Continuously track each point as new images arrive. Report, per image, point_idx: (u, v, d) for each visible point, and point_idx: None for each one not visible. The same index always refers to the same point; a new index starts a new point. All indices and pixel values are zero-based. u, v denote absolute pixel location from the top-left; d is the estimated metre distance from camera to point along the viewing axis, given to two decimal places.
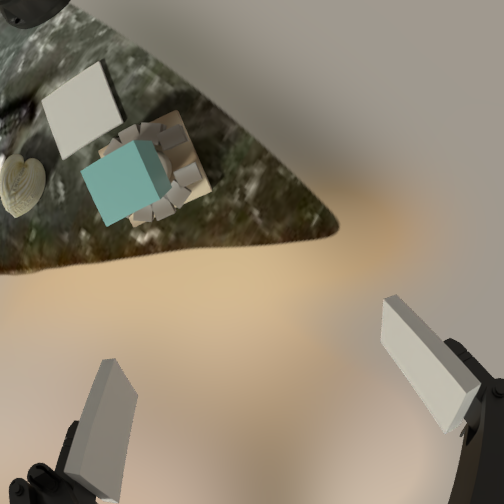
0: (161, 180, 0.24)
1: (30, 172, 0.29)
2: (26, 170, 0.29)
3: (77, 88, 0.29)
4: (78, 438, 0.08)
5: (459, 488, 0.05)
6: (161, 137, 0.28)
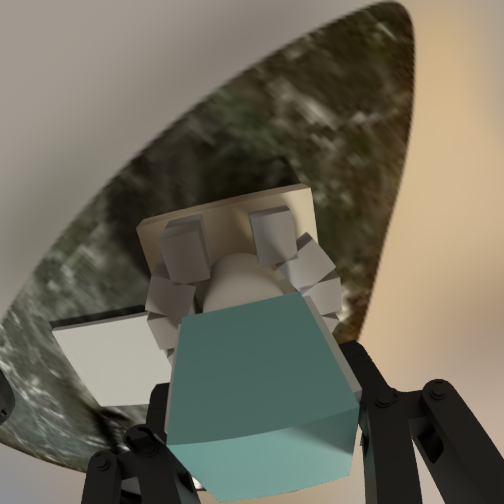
0: (288, 343, 0.10)
1: None
2: None
3: (88, 364, 0.22)
4: None
5: (369, 501, 0.06)
6: (181, 278, 0.15)
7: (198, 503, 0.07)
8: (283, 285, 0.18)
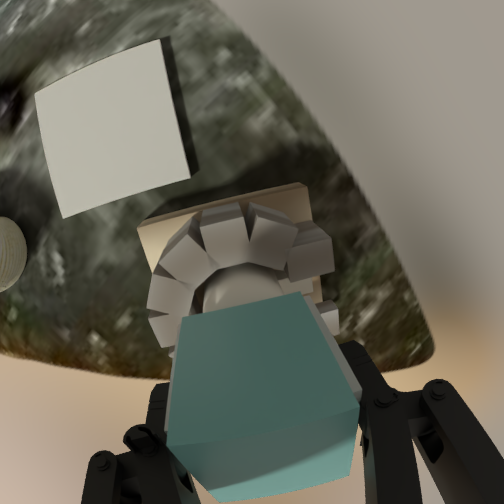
0: (288, 343, 0.10)
1: None
2: None
3: (106, 84, 0.15)
4: None
5: (369, 501, 0.06)
6: (293, 257, 0.15)
7: (198, 503, 0.07)
8: (283, 285, 0.18)
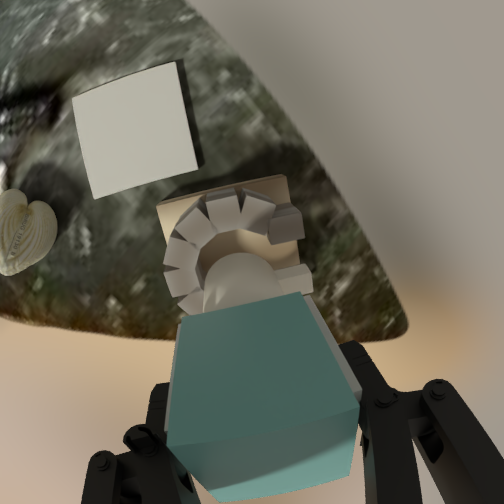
0: (288, 343, 0.10)
1: (37, 226, 0.21)
2: (31, 220, 0.21)
3: (133, 95, 0.21)
4: None
5: (369, 501, 0.06)
6: (272, 226, 0.21)
7: (198, 503, 0.07)
8: (283, 285, 0.18)
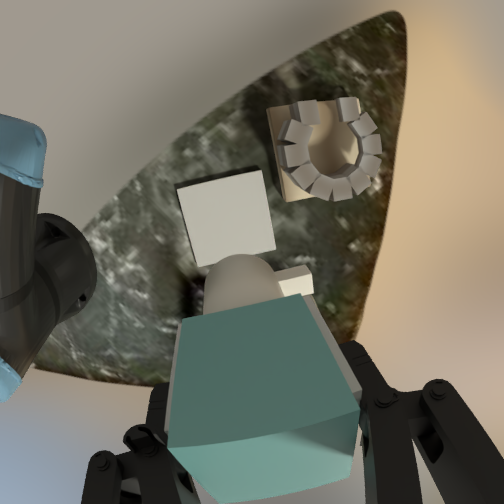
0: (289, 345, 0.10)
1: None
2: None
3: (201, 218, 0.34)
4: None
5: (369, 501, 0.06)
6: (306, 122, 0.27)
7: (198, 503, 0.07)
8: (283, 286, 0.18)
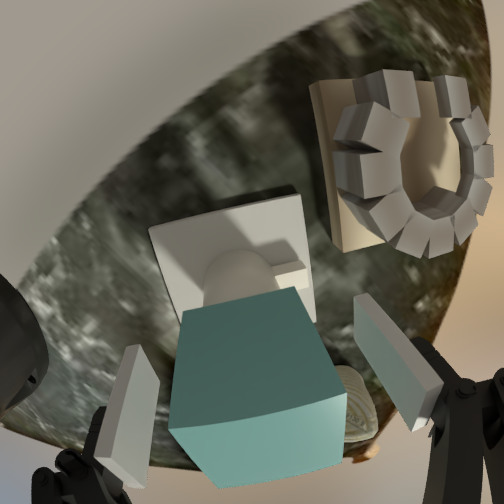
0: (282, 334, 0.10)
1: None
2: None
3: (193, 279, 0.20)
4: (107, 422, 0.08)
5: (431, 490, 0.05)
6: (399, 110, 0.12)
7: None
8: (280, 280, 0.19)
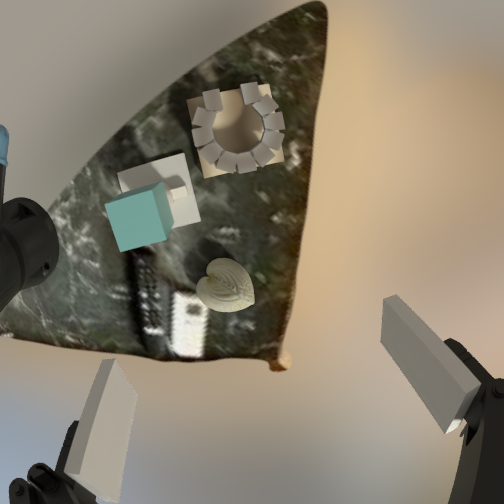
0: (147, 187, 0.29)
1: (221, 269, 0.41)
2: (217, 273, 0.42)
3: None
4: (78, 438, 0.08)
5: (459, 488, 0.05)
6: (210, 108, 0.31)
7: None
8: (173, 192, 0.38)
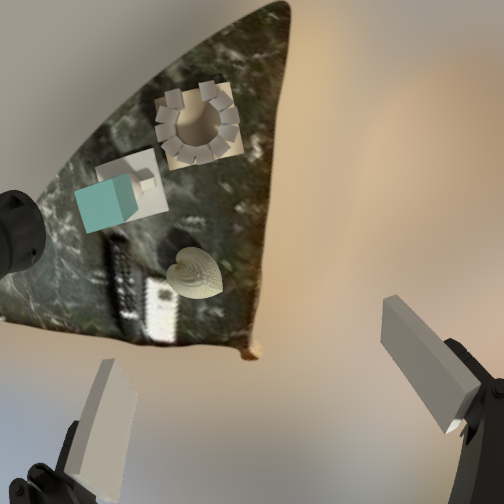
0: None
1: (188, 257, 0.44)
2: (184, 261, 0.44)
3: None
4: (78, 438, 0.08)
5: (459, 488, 0.05)
6: (171, 106, 0.34)
7: None
8: (142, 183, 0.40)
